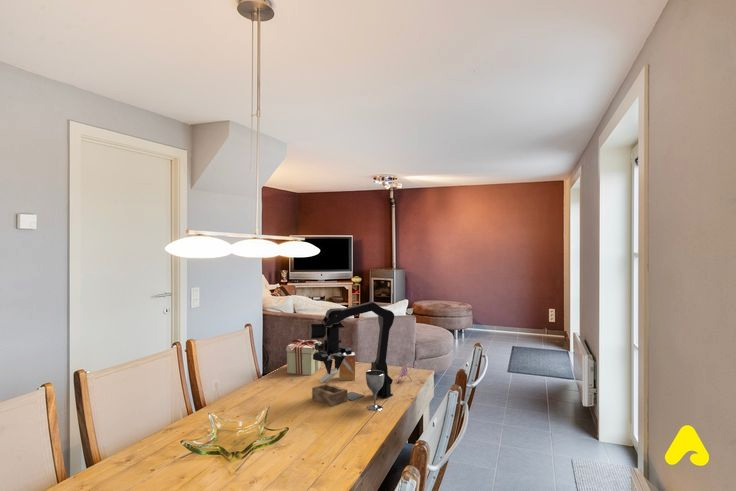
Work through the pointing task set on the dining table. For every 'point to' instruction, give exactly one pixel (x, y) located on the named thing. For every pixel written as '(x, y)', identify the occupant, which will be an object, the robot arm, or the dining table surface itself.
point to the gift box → (302, 357)
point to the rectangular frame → (329, 394)
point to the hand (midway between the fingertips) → (332, 372)
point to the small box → (347, 367)
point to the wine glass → (374, 386)
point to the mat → (353, 396)
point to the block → (328, 375)
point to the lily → (403, 372)
